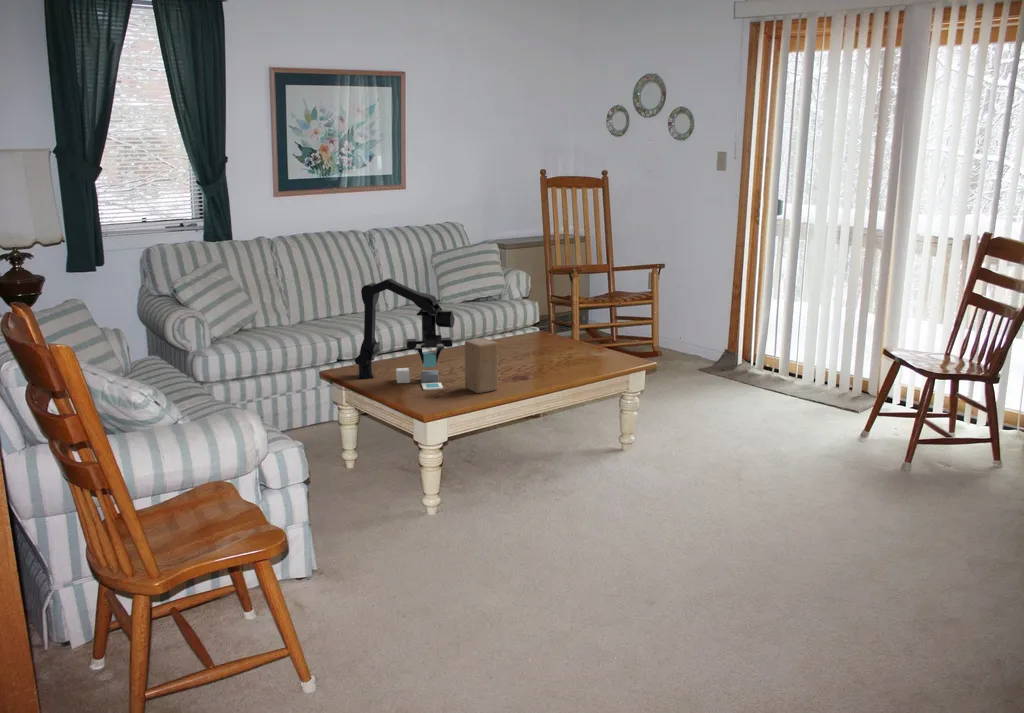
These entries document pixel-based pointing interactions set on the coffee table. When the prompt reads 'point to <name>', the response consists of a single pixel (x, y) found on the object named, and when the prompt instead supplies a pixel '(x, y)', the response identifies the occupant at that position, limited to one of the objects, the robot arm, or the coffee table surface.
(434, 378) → the slate base block
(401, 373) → the white block
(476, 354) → the wooden block
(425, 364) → the teal block
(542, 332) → the coffee table surface
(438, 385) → the tile
